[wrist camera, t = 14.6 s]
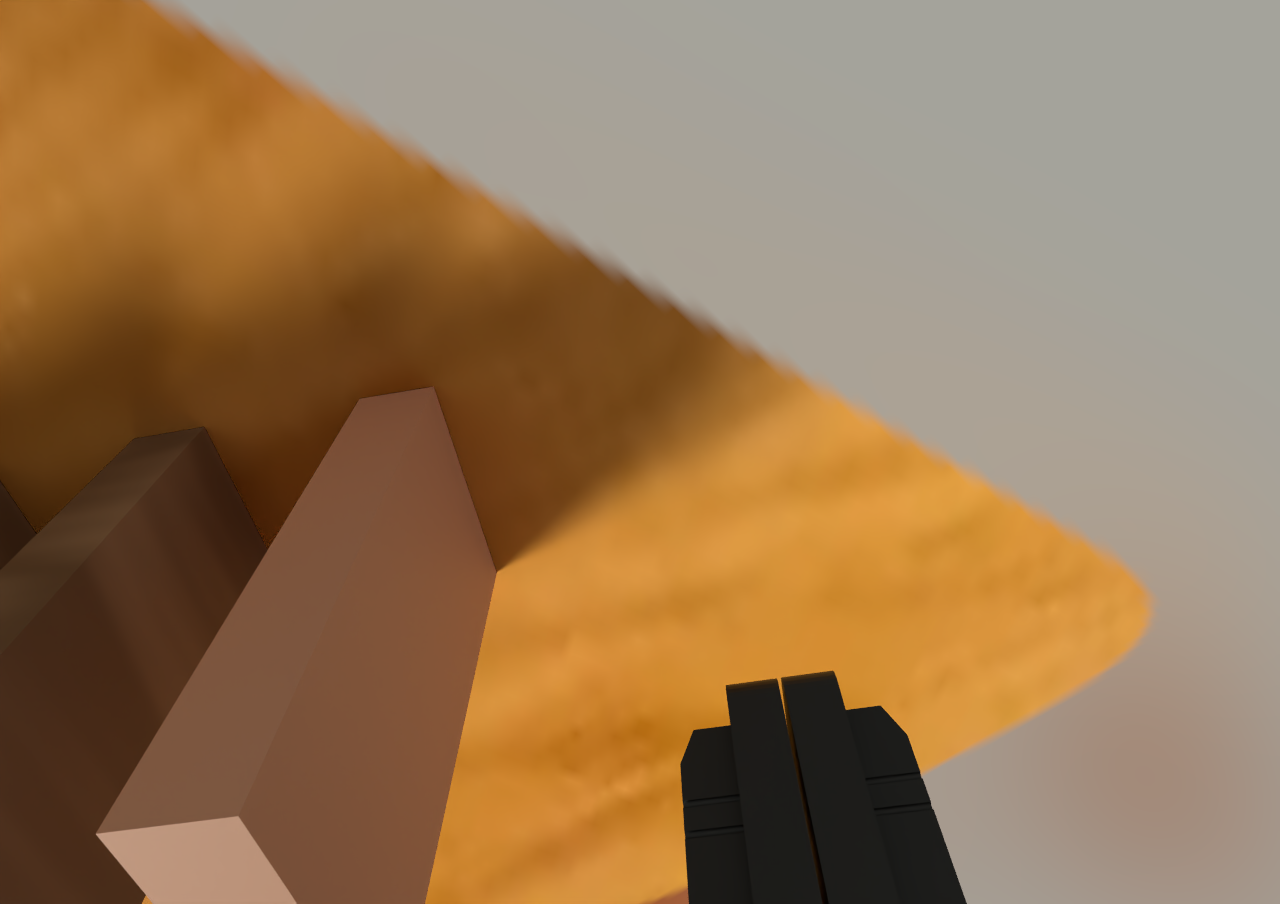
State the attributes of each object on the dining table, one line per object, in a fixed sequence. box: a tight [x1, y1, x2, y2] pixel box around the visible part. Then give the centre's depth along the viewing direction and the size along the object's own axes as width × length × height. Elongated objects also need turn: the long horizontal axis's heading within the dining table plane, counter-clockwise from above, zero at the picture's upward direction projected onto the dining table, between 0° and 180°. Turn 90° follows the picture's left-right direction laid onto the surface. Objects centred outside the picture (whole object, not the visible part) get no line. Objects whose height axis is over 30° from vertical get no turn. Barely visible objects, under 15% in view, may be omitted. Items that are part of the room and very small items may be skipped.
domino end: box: [96, 387, 497, 904], centre depth 14 cm, size 2×5×10 cm, turn 10°
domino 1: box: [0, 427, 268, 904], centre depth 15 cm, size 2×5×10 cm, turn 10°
